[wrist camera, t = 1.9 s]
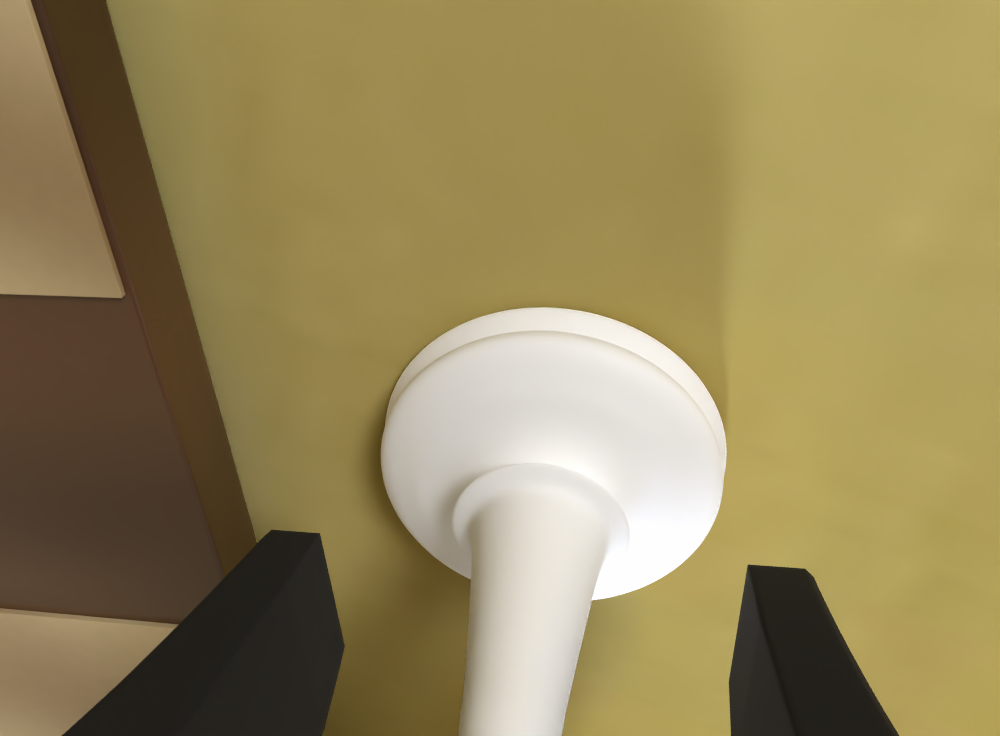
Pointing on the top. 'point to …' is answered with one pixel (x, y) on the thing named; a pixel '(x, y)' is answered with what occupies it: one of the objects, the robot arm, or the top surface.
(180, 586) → the game board
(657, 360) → the chess piece
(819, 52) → the top surface
